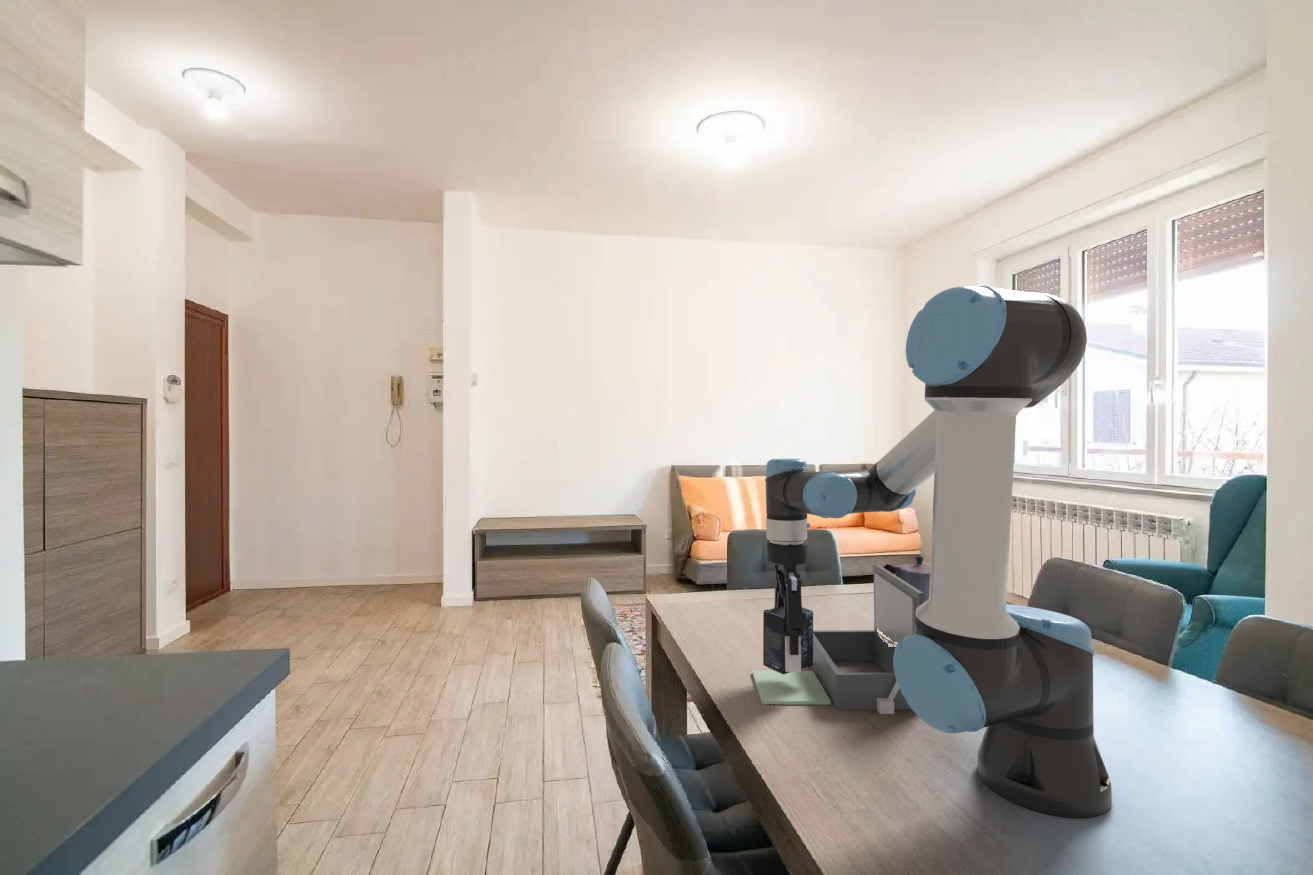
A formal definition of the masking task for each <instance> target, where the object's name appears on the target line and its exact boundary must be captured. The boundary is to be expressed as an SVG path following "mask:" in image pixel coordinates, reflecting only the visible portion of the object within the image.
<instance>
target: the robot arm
mask: <svg viewBox="0 0 1313 875" xmlns="http://www.w3.org/2000/svg"><path fill="white" fill-rule="evenodd" d="M906 336H907V337H906V341H905V357H906V358H905V359H906V362H907V365H908V367H909V368H911V369H912V374H913V375H914V376H915V377H916V378H917V379H918V380H919V381H921V382H922V383H924V384H925V386H924V401H925V402H926V403H927V405H929V406H930V407H931V408H932V409H933V411H932V412H931V413H929V414H928V415H927V416H926V417H924V419H923V420H922V421H920V423H919V424H918V425H916V426H915V427H914V428H913V429H912V430H911V431H910V432H909V433H907V435H905V437H903V438H902V439H901V440H900V441H899V442H898V443H897V444H895V446H893V447H892V448H891V449H890V450H889V451H888V452H887V453H886V454H885V455H884V456H882V458H880V459H879V460H878V461H877V462H875V463H874V464H873V465H872V466H871V467H870V468H867V469H863V470H862V469H861V470H837V471H834V470H833V471H809V470H808V466H807V465H808V464H807V462H806V460H805V459H803V458H772V459H769V460H768V461H767V462H766V467H765V468H766V472H765V475H766V476H765V479H764V482H765V507H766V508H765V509H766V510H765V511H766V518H765V529H766V530H765V534H766V535H765V537H766V539H767V540H768V541H767V542H766V559H767V560H766V561H767V562H768V563H771V564H773V565H774V567H773V568H774V572H775V573H774V574H775V575H774V576H775V577H774V605H773V609H774V608H778V607H783V606H784V611H785V623H786V632H783V633H782V636H785V671H786V672H801V671H802V669H801V636H803V635H804V631H803V618H802V607H803V600H802V599H803V598H802V583H803V582H802V581H803V580H802V579H801V575H800V573H799V572H797V566H798V565H804V564H806V563H807V562H808V561H809V554H808V553H809V552H808V549H809V548H808V546H809V545H808V543H807V541H806V540H807V539H808V529H810V528H811V524H810V522H808V515H811V516H812V515H813V516H816V517H820V518H823V519H842V518H844V517H846V516H847V515H849V514H850V515H851V514H852V515H853V514H862V513H863V514H864V513H877V512H881V513H882V512H884V513H891V512H895V511H898V510H905V509H906V508H908V507H909V506H910V505H912V503H914V502H913V500H914V498H915V496H916V495H917V493H916V490H917V488H918V487H920V486H921V485H923V483H925V482H926V481H927V480H929V479H930V478H932V476H934V478H933V502H932V518H931V519H932V523H931V542H930V543H931V544H930V545H931V548H930V565H929V566H930V588H929V599H928V600H927V601H926V602H924V603H923V604H922V605H920V606H919V607H918V608H917V609H916V613H915V614H916V615H915V633H914V635H907V636H906V637H905V638H904V639H902V641H901V642H900V643H898V644H897V646H896V648H895V651H894V656H893V667H894V673H895V677H896V680H897V683H898V686H899V688H900V691H901V693H902V695H903V696H904V697H905V698H906V700H907V703H908V705H909V706H910V707H911V709H912V710H911V711H913V712H914V713H915V714H916V715H917V717H918V718H919V719H920V720H922V721H923V722H924V723H925V724H926V725H928V726H929V727H931V728H932V729H935V730H937V731H939V732H942V733H946V734H960V733H965V732H966V733H967V732H968V733H974V732H975V733H976V732H978V731H979V730H982V729H984V728H986V729H985V732H984V734H983V736H982V740H981V742H980V745H979V748H978V750H977V773H978V775H979V778H981V780H982V781H983V782H984V783H985V784H986V785H987V786H988V787H989V788H990V789H991V790H992V791H994V792H996V793H997V794H998V795H1000V796H1002V797H1004V798H1005V799H1007V800H1010V801H1011V802H1014V803H1015V804H1018V805H1020V806H1023V807H1025V808H1028V809H1031V810H1034V811H1038V812H1041V813H1043V814H1044V813H1045V814H1048V815H1049V814H1050V815H1054V816H1059V817H1061V816H1062V817H1066V818H1067V817H1068V818H1089V817H1091V818H1092V817H1096V816H1099V815H1102V814H1104V813H1107V811H1108V810H1110V808H1112V807H1111V806H1112V804H1113V799H1112V798H1113V797H1112V795H1113V794H1112V782H1111V779H1110V776H1109V774H1108V771H1107V768H1106V764H1105V763H1104V761H1103V760H1104V759H1103V757H1102V756H1101V753H1100V749H1099V747H1098V744H1097V742H1096V739H1095V734H1094V732H1095V731H1094V730H1095V729H1094V726H1095V725H1094V655H1095V650H1094V649H1093V641H1092V640H1093V639H1092V632H1091V629H1090V628H1089V627H1088V625H1087V624H1086V623H1085V622H1083V621H1081V620H1080V619H1078V618H1075V617H1073V616H1070V615H1067V614H1064V613H1061V612H1057V611H1053V610H1047V609H1044V608H1043V609H1042V608H1037V607H1033V606H1025V605H1019V604H1009V603H1008V604H1007V597H1008V596H1007V595H1008V578H1009V576H1008V575H1009V561H1010V560H1009V557H1010V540H1011V538H1010V537H1011V521H1012V520H1011V519H1012V501H1013V483H1014V481H1013V480H1014V465H1015V464H1014V463H1015V444H1016V430H1017V429H1016V428H1017V427H1016V425H1017V416H1018V414H1019V412H1020V411H1022V410H1023V409H1030V408H1034V407H1035V406H1036V405H1038V404H1039V403H1041V402H1042V401H1043V400H1045V399H1046V398H1048V396H1050V395H1051V394H1052V393H1053V392H1054V391H1056V390H1057V389H1058V388H1059V387H1060V386H1062V385H1063V384H1064V383H1065V382H1066V381H1067V380H1069V378H1070V377H1071V376H1072V374H1074V372H1075V371H1076V370H1077V368H1078V367H1079V366H1080V364H1081V361H1082V360H1083V357H1084V354H1085V352H1086V349H1087V348H1086V347H1087V342H1088V338H1087V328H1086V325H1085V322H1084V319H1083V318H1082V316H1081V314H1080V313H1079V311H1078V310H1076V308H1075V307H1074V306H1073V305H1072V304H1070V303H1069V302H1067V301H1066V300H1064V299H1063V298H1060V297H1058V296H1055V295H1052V294H1049V293H1042V292H1026V291H1020V290H1012V289H1004V288H997V287H991V286H988V285H981V286H956V287H950V288H947V289H945V290H942V291H940V292H938V293H937V294H935V295H934V296H933V297H931V298H930V299H929V300H928V301H927V302H925V304H924V306H923V308H922V309H920V310H919V311H918V312H917V313H916V315H915V317H914V318H913V320H912V322H911V324H910V326H909V330H908V332H907V335H906ZM793 628H797V629H793Z"/></svg>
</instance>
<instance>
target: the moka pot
mask: <svg viewBox="0 0 1313 875" xmlns="http://www.w3.org/2000/svg"><path fill="white" fill-rule="evenodd" d="M915 561H916V562H915V563H902V564H897V565H892V564H888V563H886V564H885V565H883V568H885V569H886V570H888V571H889V572H891V573H892V574H894V575H896V576H897V577H899V578H900V579H902V580H904V581H905V582H907V583H908V584H910V585H912V586H913V587H915V588H916V589H918V590H920V591H921V592H923V596H924V602H926V601H927V600H928V599H929V588H930V565H927V564H924V563H923V561H924V557H923V556H920V555H918V556H915Z"/></svg>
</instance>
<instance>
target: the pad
mask: <svg viewBox="0 0 1313 875" xmlns="http://www.w3.org/2000/svg"><path fill="white" fill-rule="evenodd" d="M751 672H752V677H753V680H754V683H755V686H756V690H757V693H758V696H759V699H760V702H762V703H761V705H767V704H768V705H769V704H772V705H773V704H775V705H776V706H777V704H778V706H779V705H781V704H782V705H797V706H798V705H800V706H802V705H804V706H805V705H810V706H811V705H812V706H813V705H814V706H815V705H820V706H823V705H830V706H831V705H832V701H831V699H830V697H829V696H828V694H827V692H826V690H825V689H824V687H823V685H822V684H821V682H820V680H819V678H818V677H817V675H816V673H815V672H814V670H801V672H789V673H787V674H784V675H783V674H781V673H779V672H776V671H774V670H752V671H751Z"/></svg>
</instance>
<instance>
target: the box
mask: <svg viewBox="0 0 1313 875" xmlns="http://www.w3.org/2000/svg"><path fill="white" fill-rule="evenodd" d="M762 611H763V614H762V615H763V617H762V618H763V621H762V622H763V624H762V625H763V627H762V628H763V629H762V630H763V633H762V634H763V640H762V642H763V643H762V644H763V646H762V649H763V653H762V654H763V656H762V657H763V658H762V660H763V661H762V664H763V666H764V667H767V668H768V669H769V670H771V671H776V672H779V673H781V674H783V675H784V674H787V673H789V672H786V671H785V636H782V633H783V632H786V623H785V611H784V606H783V607H778V608H774V607H773V608H770V609H764V610H762ZM802 618H803V631H804V635H803V636H801V670H802V669H806V668H810V667H811V666H813V631H814V610H811V609H808V608H805V607H803V606H802ZM793 629H797V628H793ZM811 668H812V667H811Z"/></svg>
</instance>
